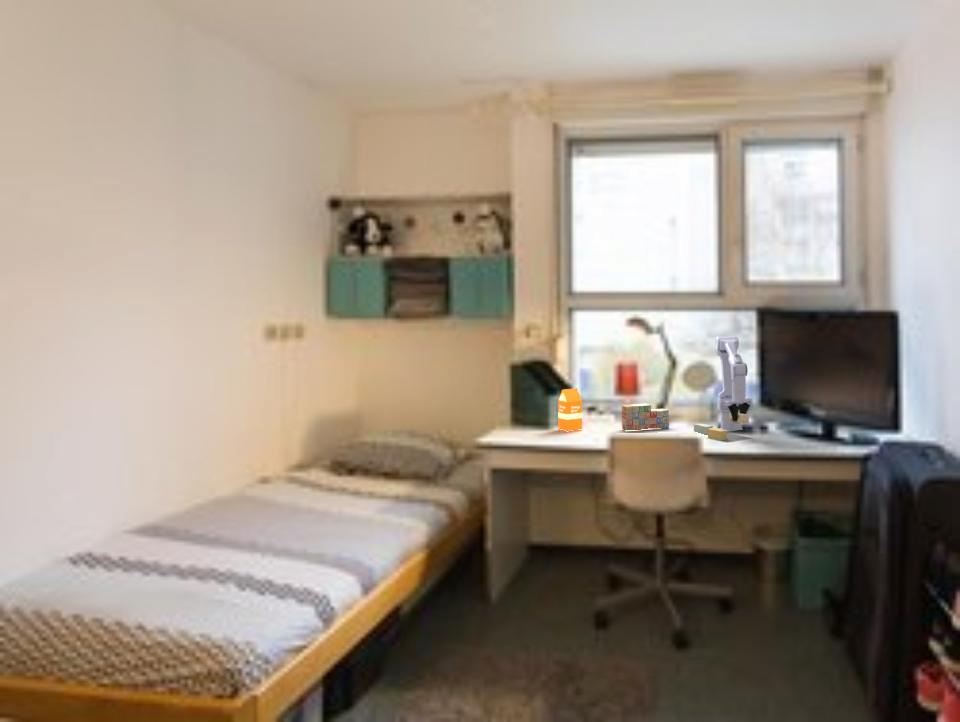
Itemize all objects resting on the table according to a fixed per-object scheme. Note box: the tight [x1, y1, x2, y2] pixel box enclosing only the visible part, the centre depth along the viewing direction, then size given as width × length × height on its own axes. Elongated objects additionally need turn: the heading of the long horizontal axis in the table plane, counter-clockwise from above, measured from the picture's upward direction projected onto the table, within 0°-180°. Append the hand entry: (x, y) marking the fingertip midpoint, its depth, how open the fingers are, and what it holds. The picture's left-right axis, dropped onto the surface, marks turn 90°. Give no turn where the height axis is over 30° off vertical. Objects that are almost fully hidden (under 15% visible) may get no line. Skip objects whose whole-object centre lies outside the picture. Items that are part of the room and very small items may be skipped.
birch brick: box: [729, 413, 750, 425], centre depth 397 cm, size 8×4×4 cm, turn 30°
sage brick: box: [693, 423, 714, 435], centre depth 407 cm, size 8×4×4 cm, turn 30°
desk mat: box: [708, 432, 754, 443], centre depth 401 cm, size 16×27×1 cm, turn 29°
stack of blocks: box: [621, 403, 670, 431], centre depth 423 cm, size 21×6×12 cm, turn 102°
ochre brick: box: [707, 427, 728, 441], centre depth 395 cm, size 8×4×4 cm, turn 30°
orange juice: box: [557, 387, 583, 431], centre depth 425 cm, size 8×9×20 cm
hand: (738, 420), depth 397 cm, fingers closed on birch brick, 4 cm apart
